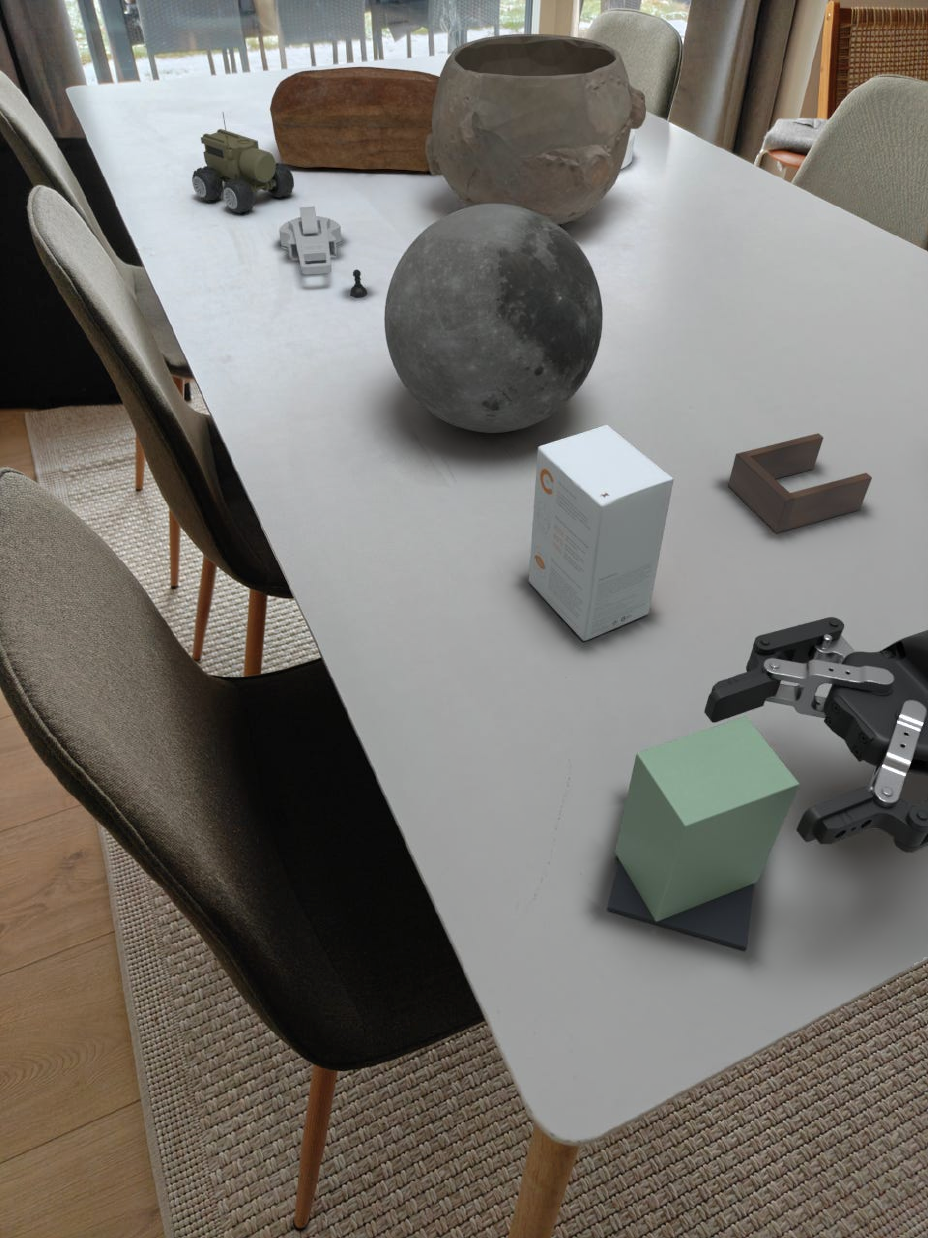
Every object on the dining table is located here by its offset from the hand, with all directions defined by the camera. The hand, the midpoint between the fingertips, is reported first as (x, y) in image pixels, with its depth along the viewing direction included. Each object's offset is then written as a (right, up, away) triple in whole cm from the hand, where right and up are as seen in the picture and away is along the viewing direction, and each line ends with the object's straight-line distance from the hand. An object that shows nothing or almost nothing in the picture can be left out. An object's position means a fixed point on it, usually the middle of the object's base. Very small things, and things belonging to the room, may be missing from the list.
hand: (753, 764), depth 50 cm
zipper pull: (-35, +53, +69) cm, 94 cm away
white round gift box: (+1, +80, +96) cm, 125 cm away
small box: (-6, +9, +24) cm, 27 cm away
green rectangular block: (-2, -7, +7) cm, 10 cm away
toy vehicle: (-47, +68, +84) cm, 118 cm away
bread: (-30, +79, +95) cm, 127 cm away
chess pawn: (-28, +47, +62) cm, 83 cm away
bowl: (-7, +63, +79) cm, 102 cm away
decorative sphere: (-13, +28, +43) cm, 53 cm away
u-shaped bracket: (+14, +19, +34) cm, 41 cm away
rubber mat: (-2, -8, +7) cm, 10 cm away
